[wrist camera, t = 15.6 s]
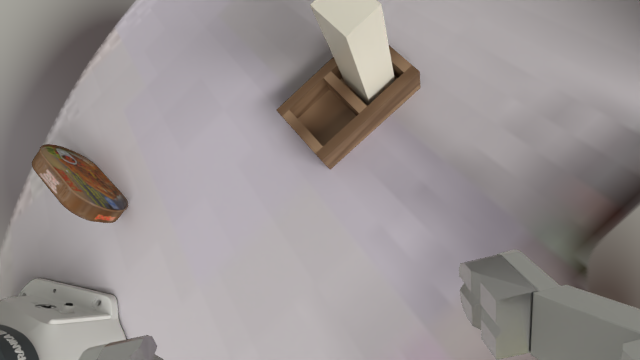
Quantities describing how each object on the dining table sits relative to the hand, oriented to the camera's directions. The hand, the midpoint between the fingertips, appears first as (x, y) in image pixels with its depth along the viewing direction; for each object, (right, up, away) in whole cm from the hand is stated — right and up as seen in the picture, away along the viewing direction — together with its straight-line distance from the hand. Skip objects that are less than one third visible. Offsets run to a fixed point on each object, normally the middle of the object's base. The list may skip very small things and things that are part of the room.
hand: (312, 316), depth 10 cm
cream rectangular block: (+6, +15, +37) cm, 40 cm away
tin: (-32, +2, +46) cm, 56 cm away
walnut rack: (+4, +13, +38) cm, 40 cm away
